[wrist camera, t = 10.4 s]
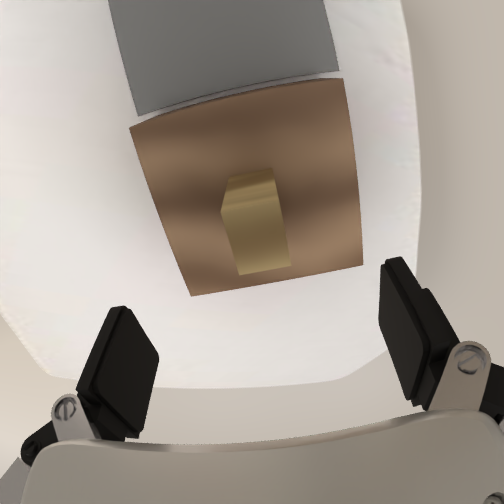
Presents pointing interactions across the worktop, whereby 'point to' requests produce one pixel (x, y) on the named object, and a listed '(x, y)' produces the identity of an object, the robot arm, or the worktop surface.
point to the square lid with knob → (256, 185)
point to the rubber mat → (217, 45)
